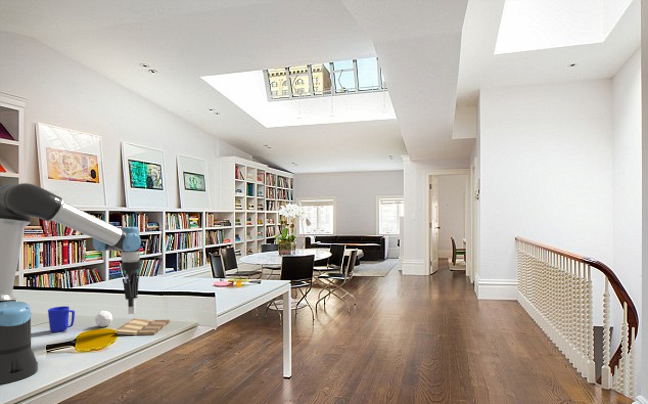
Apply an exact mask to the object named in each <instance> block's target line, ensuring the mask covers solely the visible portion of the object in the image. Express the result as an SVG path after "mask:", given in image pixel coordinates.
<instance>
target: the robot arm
mask: <svg viewBox="0 0 648 404" xmlns="http://www.w3.org/2000/svg"><path fill="white" fill-rule="evenodd" d="M33 217H34V218H37V219H39V220H40V219H41V220H43V221H45V222H51V221H52V222H54V223H58V224H60V225H62V226H64V227H67V228H69V229H71V230H74V231H76V232H77V233H81V234H83V235H86V236H87V237H90V238H92V245H93V248H94V250H95V251H96V252H106V251H112V252H113V251H115V252H116V251H117V252H121V255H120V257H121V261H122V262H121V270H122V271H124V278H122V283H123V291H124V298H125V300H126V301H127V308H128V309H127V313H128V315H132V314H133V315H135V314H136V313H137V312H136V311H137V310H136V305H137V302H136V299H138V294H139V283H140V282H139V281H140V276H141V275H140V273H138V270H140V269H141V261H140V258H141V257H140V256H141V255H142V254H141V252H140V246H141V244H142V240H141V237H140V229H139V227H138V226H124V227H123V226H122V227H121V228H119V227H116V226H114V225H113V224H110V223H109V222H107V221H104V220H102V219H100V218H98V217H95V216H93V215H91V214H90V213H87V212H86V211H83V210H81V209H79V208H77V207H75V206H73V205H71V204H69V203H66V202H65V201H64V199H63V198H62V197H61V196H58V195H56V194H55V193H53V192H51V191H49V190H47V189H45V188H43V187H40V186H39V185H36V184H32V183H28V182H25V183H16V184H12V183H10V184H5V185H2V186H1V187H0V384H7V383H12V382H17V381H19V380H24V379H25V378H28V377H30V376H33V375H35V374H36V373H37V372H38V371H39V363H38V361H37V359H36V356H35V354H34V351H33V349H32V319H31V318H32V312H31V307H30V304H28V303H27V302H24V301H16V300H17V297H16V296H15V295H14V294H13V291H14V285H15V280H16V275H17V274H16V273H17V269H18V264H19V257H20V253H21V246H22V244H23V243H22V242H23V237H24V231H25V227H27V226H29V225H30V224H31V221H32V218H33Z"/></svg>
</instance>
